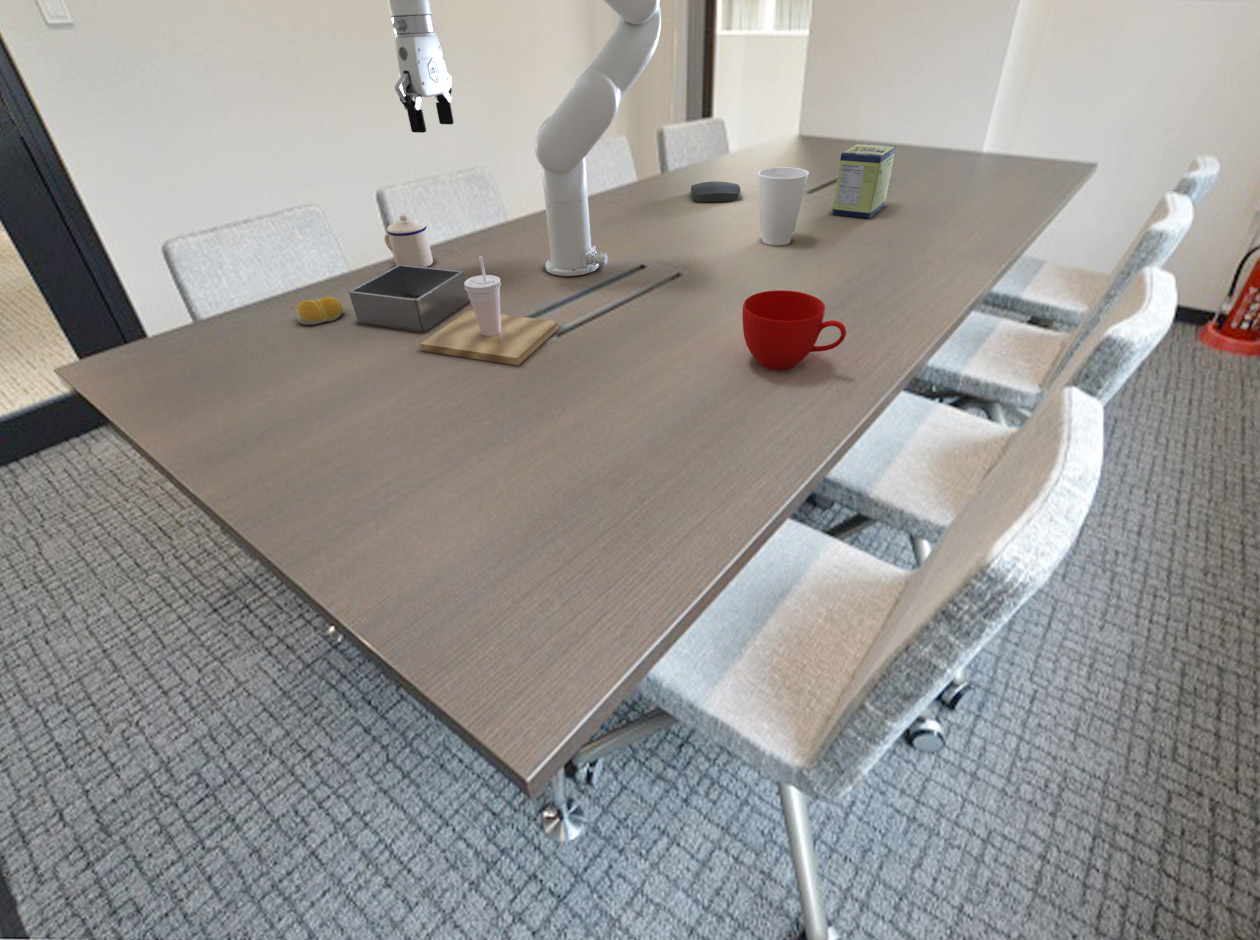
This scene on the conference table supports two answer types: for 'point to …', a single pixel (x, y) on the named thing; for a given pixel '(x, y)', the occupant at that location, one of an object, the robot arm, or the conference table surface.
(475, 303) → the smoothie
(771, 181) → the cup
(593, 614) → the conference table surface
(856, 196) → the protein box
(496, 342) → the maple board
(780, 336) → the ceramic cup
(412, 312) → the box
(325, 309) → the bread roll
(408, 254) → the teacup with lid
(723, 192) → the media streaming box
